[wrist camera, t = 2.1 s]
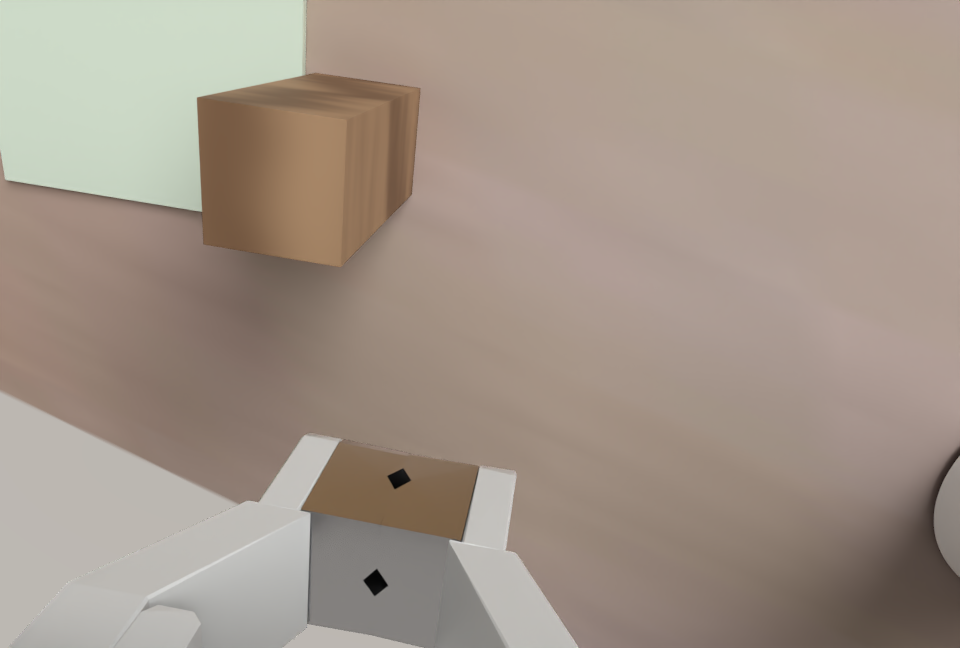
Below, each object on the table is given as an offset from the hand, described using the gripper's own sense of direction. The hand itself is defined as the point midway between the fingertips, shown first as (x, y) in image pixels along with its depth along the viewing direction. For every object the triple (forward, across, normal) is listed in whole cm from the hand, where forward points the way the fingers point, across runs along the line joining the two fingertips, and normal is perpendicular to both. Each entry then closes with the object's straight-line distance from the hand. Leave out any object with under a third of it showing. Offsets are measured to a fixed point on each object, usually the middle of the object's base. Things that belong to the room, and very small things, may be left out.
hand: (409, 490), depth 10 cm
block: (+25, +8, 0) cm, 26 cm away
